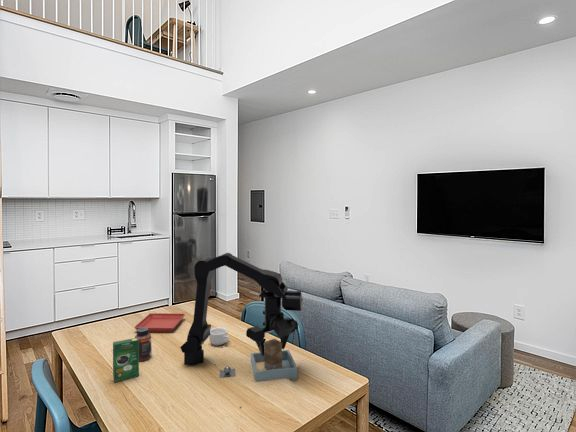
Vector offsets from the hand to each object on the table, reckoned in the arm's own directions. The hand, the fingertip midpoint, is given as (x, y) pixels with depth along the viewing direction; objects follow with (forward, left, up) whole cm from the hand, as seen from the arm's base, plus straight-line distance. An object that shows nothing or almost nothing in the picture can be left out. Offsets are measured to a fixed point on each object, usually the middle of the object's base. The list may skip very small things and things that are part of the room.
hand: (272, 352), depth 127 cm
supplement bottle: (-47, +20, -7) cm, 52 cm away
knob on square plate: (-16, 0, -7) cm, 17 cm away
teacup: (-18, +27, -7) cm, 33 cm away
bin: (0, 0, -7) cm, 7 cm away
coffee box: (-50, +6, -7) cm, 51 cm away
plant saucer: (-45, +53, -8) cm, 70 cm away
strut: (0, 0, -6) cm, 6 cm away
